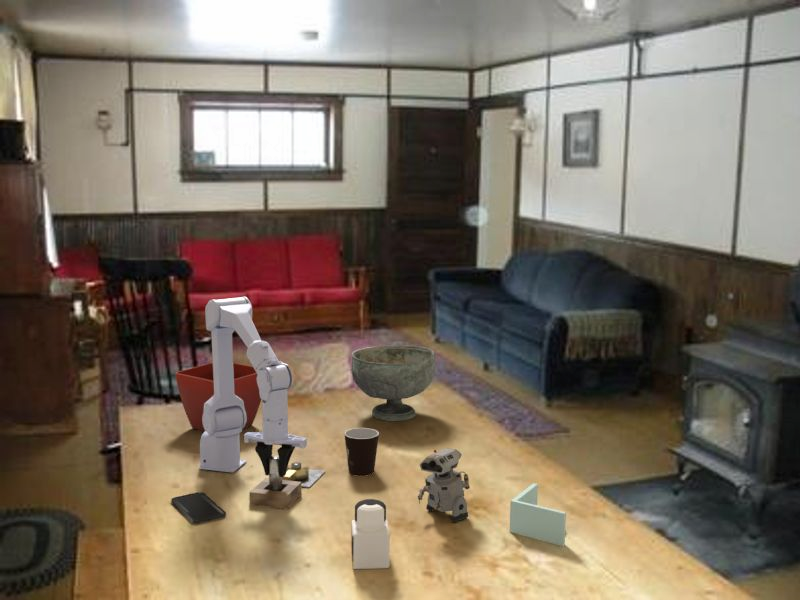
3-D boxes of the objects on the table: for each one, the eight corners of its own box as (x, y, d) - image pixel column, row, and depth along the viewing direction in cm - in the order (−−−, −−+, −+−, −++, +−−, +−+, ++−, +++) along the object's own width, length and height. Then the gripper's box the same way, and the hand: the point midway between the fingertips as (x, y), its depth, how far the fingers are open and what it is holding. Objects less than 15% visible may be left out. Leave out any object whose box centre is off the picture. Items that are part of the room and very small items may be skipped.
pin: (267, 488, 195) (266, 459, 194) (272, 484, 198) (271, 455, 197) (279, 490, 195) (279, 460, 194) (284, 485, 198) (283, 456, 197)
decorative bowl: (436, 427, 249) (436, 360, 246) (348, 428, 249) (347, 360, 247) (434, 405, 275) (434, 344, 273) (354, 405, 276) (353, 344, 273)
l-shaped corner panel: (562, 548, 176) (564, 513, 174) (509, 534, 182) (510, 500, 181) (583, 527, 186) (585, 494, 184) (532, 514, 192) (533, 482, 191)
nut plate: (266, 483, 207) (266, 481, 207) (284, 467, 217) (284, 466, 217) (309, 488, 204) (309, 486, 204) (325, 471, 215) (325, 470, 215)
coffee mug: (374, 479, 210) (374, 440, 209) (340, 476, 212) (340, 437, 210) (384, 462, 222) (384, 425, 220) (352, 460, 223) (352, 423, 222)
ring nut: (273, 484, 205) (273, 472, 204) (289, 469, 214) (289, 458, 214) (297, 486, 203) (297, 475, 203) (312, 472, 213) (312, 461, 212)
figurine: (407, 517, 188) (408, 452, 186) (444, 504, 196) (445, 441, 193) (436, 531, 181) (437, 464, 179) (473, 516, 189) (475, 451, 187)
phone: (202, 491, 199) (227, 513, 187) (202, 495, 200) (227, 518, 187) (169, 498, 195) (192, 521, 183) (169, 503, 195) (192, 526, 183)
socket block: (249, 504, 194) (249, 492, 194) (265, 489, 203) (265, 477, 202) (286, 509, 192) (286, 496, 191) (301, 494, 200) (301, 481, 200)
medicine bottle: (351, 552, 171) (351, 496, 169) (387, 552, 172) (387, 495, 170) (352, 570, 164) (352, 510, 162) (389, 568, 165) (390, 509, 163)
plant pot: (269, 424, 252) (269, 368, 249) (223, 442, 236) (222, 382, 233) (222, 413, 262) (220, 359, 259) (174, 429, 246) (173, 372, 243)
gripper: (237, 419, 192) (239, 477, 194) (298, 425, 188) (299, 484, 191) (251, 411, 199) (252, 466, 201) (309, 416, 195) (310, 473, 197)
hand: (275, 474), depth 196 cm, fingers closed on pin, 3 cm apart
